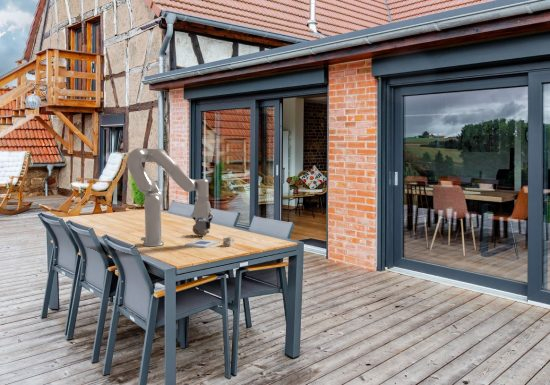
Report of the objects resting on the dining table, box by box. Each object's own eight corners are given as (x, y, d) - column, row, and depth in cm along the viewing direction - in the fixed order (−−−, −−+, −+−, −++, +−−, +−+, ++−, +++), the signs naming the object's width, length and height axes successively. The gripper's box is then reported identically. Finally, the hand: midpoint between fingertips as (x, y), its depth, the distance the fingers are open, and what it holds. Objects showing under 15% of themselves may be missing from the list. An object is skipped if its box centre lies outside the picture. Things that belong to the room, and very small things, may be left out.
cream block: (223, 245, 296) (223, 237, 296) (226, 244, 301) (226, 236, 301) (230, 246, 295) (230, 238, 294) (234, 245, 299) (234, 237, 299)
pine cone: (188, 235, 332) (188, 220, 331) (201, 233, 338) (201, 219, 337) (204, 240, 314) (204, 225, 314) (217, 238, 320) (217, 223, 319)
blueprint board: (185, 246, 294) (185, 244, 294) (200, 241, 311) (200, 239, 311) (205, 247, 289) (205, 246, 289) (219, 242, 306) (219, 240, 306)
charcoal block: (195, 229, 298) (195, 221, 297) (201, 228, 304) (201, 220, 303) (204, 230, 295) (204, 222, 295) (210, 228, 301) (210, 220, 301)
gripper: (187, 199, 297) (187, 228, 299) (211, 200, 291) (212, 229, 293) (193, 198, 304) (193, 226, 306) (217, 199, 298) (218, 228, 299)
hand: (202, 227), depth 299 cm, fingers closed on charcoal block, 6 cm apart
